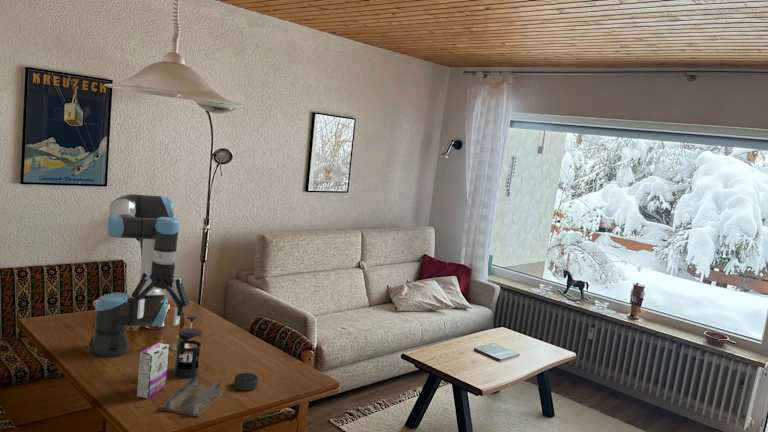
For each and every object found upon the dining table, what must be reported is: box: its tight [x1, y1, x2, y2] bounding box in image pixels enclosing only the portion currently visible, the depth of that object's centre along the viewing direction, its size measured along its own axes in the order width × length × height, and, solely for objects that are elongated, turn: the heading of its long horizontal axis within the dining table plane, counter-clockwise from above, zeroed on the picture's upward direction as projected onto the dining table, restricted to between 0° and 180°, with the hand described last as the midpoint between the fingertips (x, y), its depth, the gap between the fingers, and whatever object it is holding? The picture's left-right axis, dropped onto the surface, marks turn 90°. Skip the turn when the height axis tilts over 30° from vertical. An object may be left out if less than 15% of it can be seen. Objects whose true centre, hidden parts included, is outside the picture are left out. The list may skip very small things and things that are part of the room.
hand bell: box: [169, 311, 191, 352], centre depth 251 cm, size 8×8×16 cm
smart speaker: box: [233, 372, 259, 392], centre depth 223 cm, size 9×9×4 cm
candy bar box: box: [136, 342, 170, 400], centre depth 207 cm, size 11×5×16 cm, turn 168°
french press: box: [172, 315, 204, 380], centre depth 226 cm, size 12×9×23 cm
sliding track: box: [159, 377, 225, 418], centre depth 206 cm, size 14×21×4 cm, turn 172°
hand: (158, 321), depth 205 cm, fingers open, 13 cm apart
